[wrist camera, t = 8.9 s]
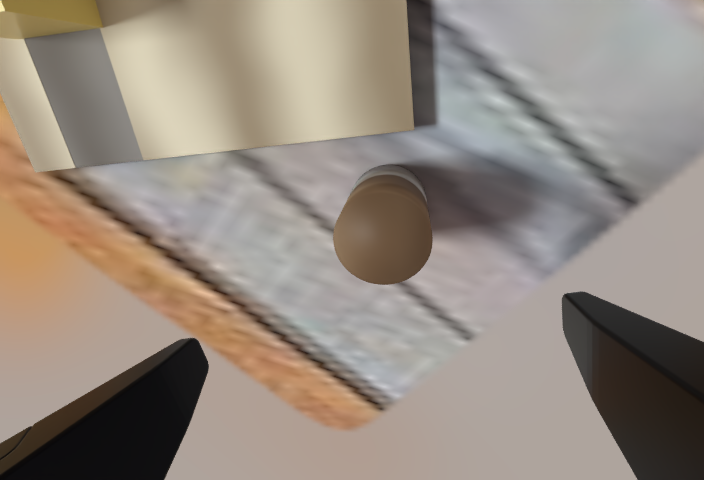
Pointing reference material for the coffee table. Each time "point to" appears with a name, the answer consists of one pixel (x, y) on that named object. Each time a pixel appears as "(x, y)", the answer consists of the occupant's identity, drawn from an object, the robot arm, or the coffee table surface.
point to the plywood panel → (208, 79)
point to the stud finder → (46, 17)
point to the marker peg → (384, 227)
